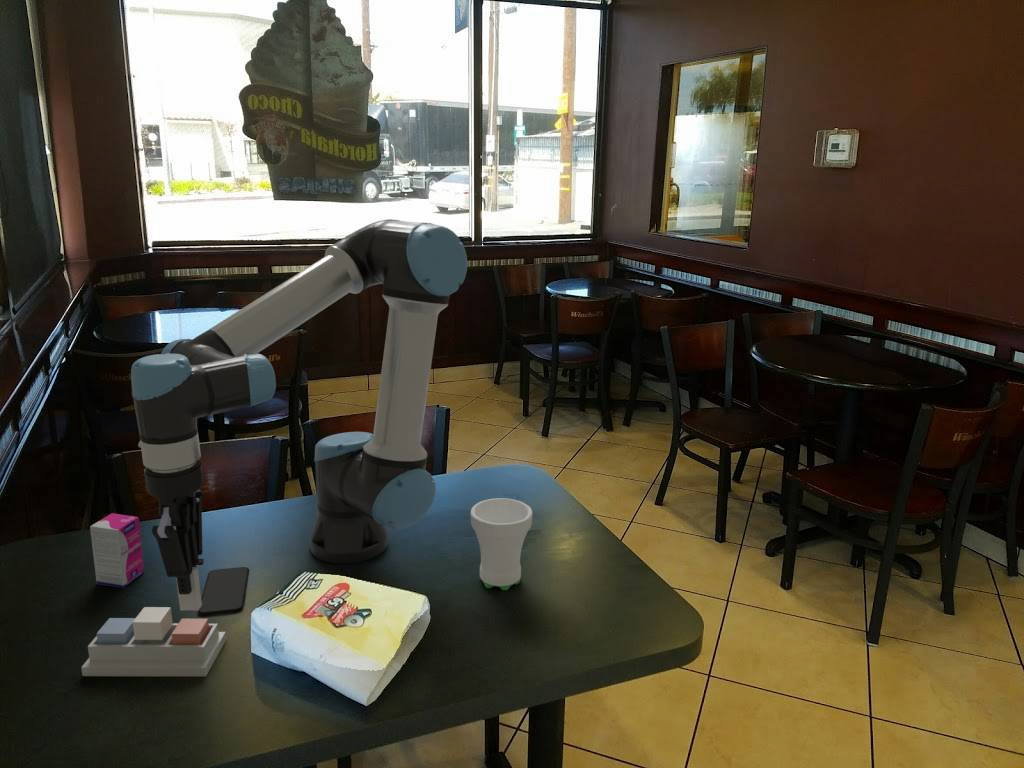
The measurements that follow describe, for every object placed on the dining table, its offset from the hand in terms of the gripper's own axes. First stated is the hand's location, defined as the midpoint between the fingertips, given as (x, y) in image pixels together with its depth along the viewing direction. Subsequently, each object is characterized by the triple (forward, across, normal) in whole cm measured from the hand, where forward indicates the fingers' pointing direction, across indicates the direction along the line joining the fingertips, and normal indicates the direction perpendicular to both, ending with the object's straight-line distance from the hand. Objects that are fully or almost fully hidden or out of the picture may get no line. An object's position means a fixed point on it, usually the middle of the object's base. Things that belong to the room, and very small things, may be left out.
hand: (191, 607), depth 115 cm
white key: (+4, 0, -6) cm, 7 cm away
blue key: (+6, 0, -11) cm, 13 cm away
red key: (+6, 0, 0) cm, 6 cm away
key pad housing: (+9, 0, -6) cm, 10 cm away
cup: (+10, -23, +47) cm, 53 cm away
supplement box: (+9, -23, -22) cm, 33 cm away
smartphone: (+9, -19, -2) cm, 21 cm away
